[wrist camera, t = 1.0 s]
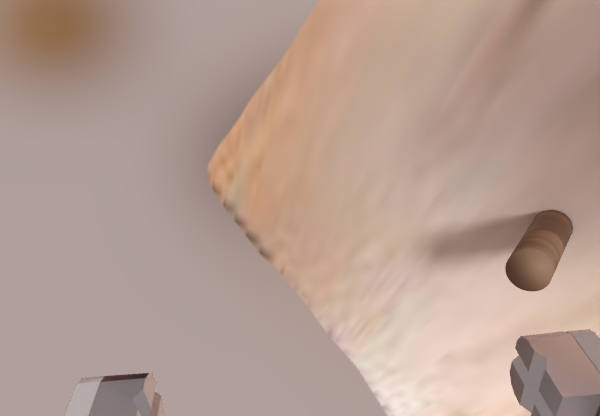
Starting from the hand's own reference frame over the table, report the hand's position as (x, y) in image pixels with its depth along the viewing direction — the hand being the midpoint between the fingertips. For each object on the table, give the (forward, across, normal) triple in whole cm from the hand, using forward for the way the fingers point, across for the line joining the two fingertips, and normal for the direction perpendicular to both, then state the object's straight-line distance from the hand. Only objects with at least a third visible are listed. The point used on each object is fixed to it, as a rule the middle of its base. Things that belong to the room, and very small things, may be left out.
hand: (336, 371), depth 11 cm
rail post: (+32, -25, +21) cm, 45 cm away
